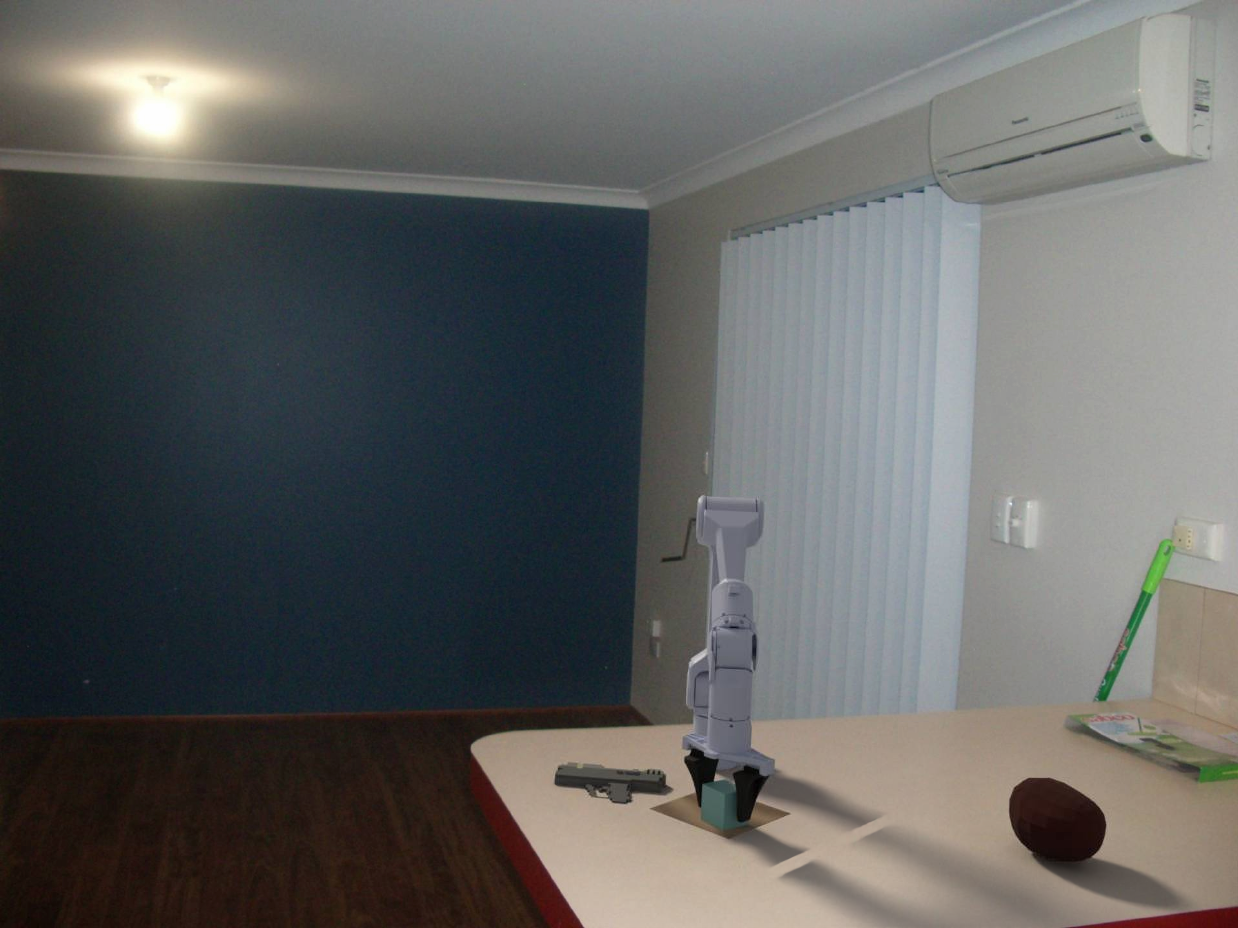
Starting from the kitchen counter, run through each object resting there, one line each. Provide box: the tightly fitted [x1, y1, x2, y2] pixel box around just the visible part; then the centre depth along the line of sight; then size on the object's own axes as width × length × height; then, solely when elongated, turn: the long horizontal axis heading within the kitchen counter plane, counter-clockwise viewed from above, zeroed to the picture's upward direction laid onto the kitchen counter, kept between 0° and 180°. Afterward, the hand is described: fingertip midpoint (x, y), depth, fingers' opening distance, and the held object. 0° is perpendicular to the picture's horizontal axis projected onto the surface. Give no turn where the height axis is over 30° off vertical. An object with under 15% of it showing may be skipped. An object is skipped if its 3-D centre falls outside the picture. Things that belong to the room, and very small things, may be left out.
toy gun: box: [554, 761, 667, 804], centre depth 175 cm, size 4×16×10 cm
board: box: [649, 791, 792, 840], centre depth 169 cm, size 14×14×4 cm
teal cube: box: [701, 778, 749, 831], centre depth 164 cm, size 5×5×5 cm
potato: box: [1008, 777, 1107, 863], centre depth 159 cm, size 11×13×10 cm
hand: (724, 812), depth 164 cm, fingers open, 6 cm apart
